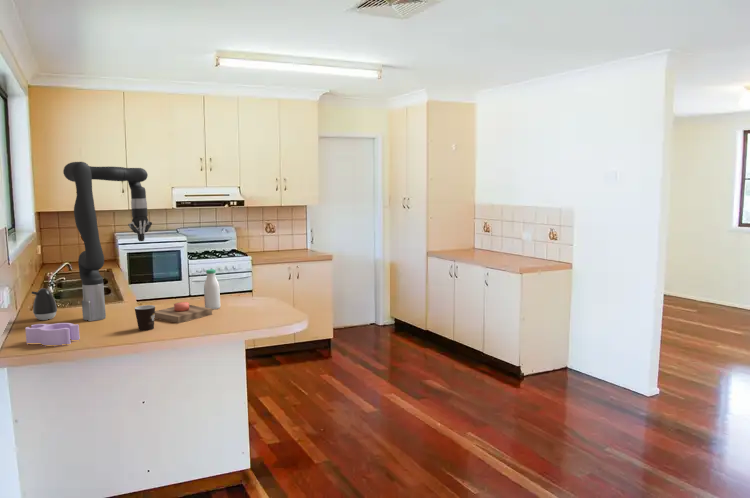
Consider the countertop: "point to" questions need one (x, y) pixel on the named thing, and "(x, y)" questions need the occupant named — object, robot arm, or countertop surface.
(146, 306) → the coffee mug
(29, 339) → the purple low wavy piece
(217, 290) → the milk bottle
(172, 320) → the wooden cutting board
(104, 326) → the countertop surface
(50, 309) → the pump dispenser
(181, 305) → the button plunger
